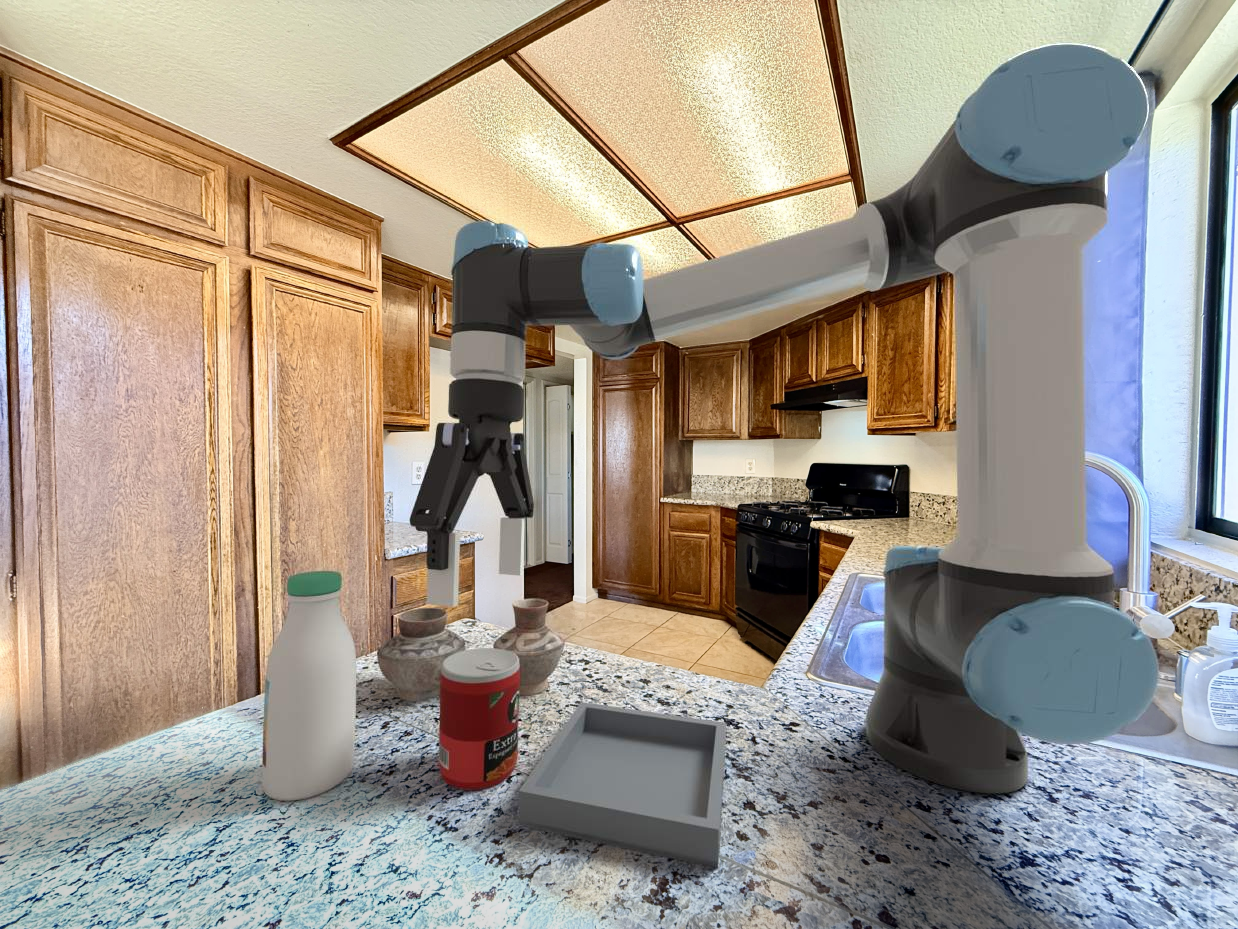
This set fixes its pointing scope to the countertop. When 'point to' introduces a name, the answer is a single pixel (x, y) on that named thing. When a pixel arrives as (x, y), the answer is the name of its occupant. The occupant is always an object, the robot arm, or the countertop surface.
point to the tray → (632, 783)
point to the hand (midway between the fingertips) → (480, 587)
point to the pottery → (428, 644)
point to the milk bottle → (310, 693)
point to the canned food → (478, 717)
